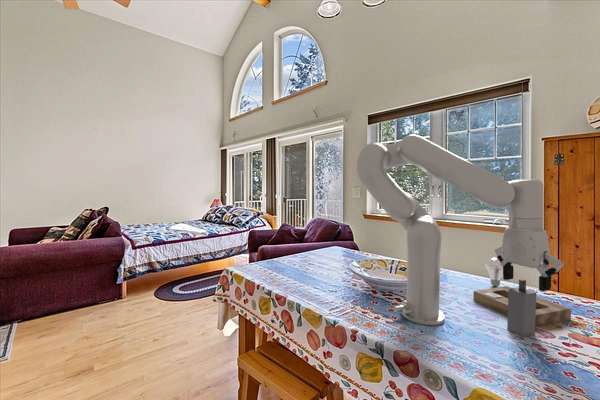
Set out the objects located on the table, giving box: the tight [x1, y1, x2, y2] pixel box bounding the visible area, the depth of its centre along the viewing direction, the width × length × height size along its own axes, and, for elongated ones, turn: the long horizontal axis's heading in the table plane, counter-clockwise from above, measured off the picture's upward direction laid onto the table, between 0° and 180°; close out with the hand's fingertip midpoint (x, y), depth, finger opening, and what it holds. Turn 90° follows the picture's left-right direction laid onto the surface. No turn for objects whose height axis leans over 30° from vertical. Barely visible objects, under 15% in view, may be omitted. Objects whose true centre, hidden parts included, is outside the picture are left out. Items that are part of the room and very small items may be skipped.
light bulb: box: [485, 257, 503, 288], centre depth 114 cm, size 7×7×12 cm
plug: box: [506, 279, 537, 338], centre depth 79 cm, size 4×4×15 cm
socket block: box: [473, 285, 572, 328], centre depth 93 cm, size 16×20×4 cm
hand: (525, 284), depth 78 cm, fingers open, 9 cm apart
